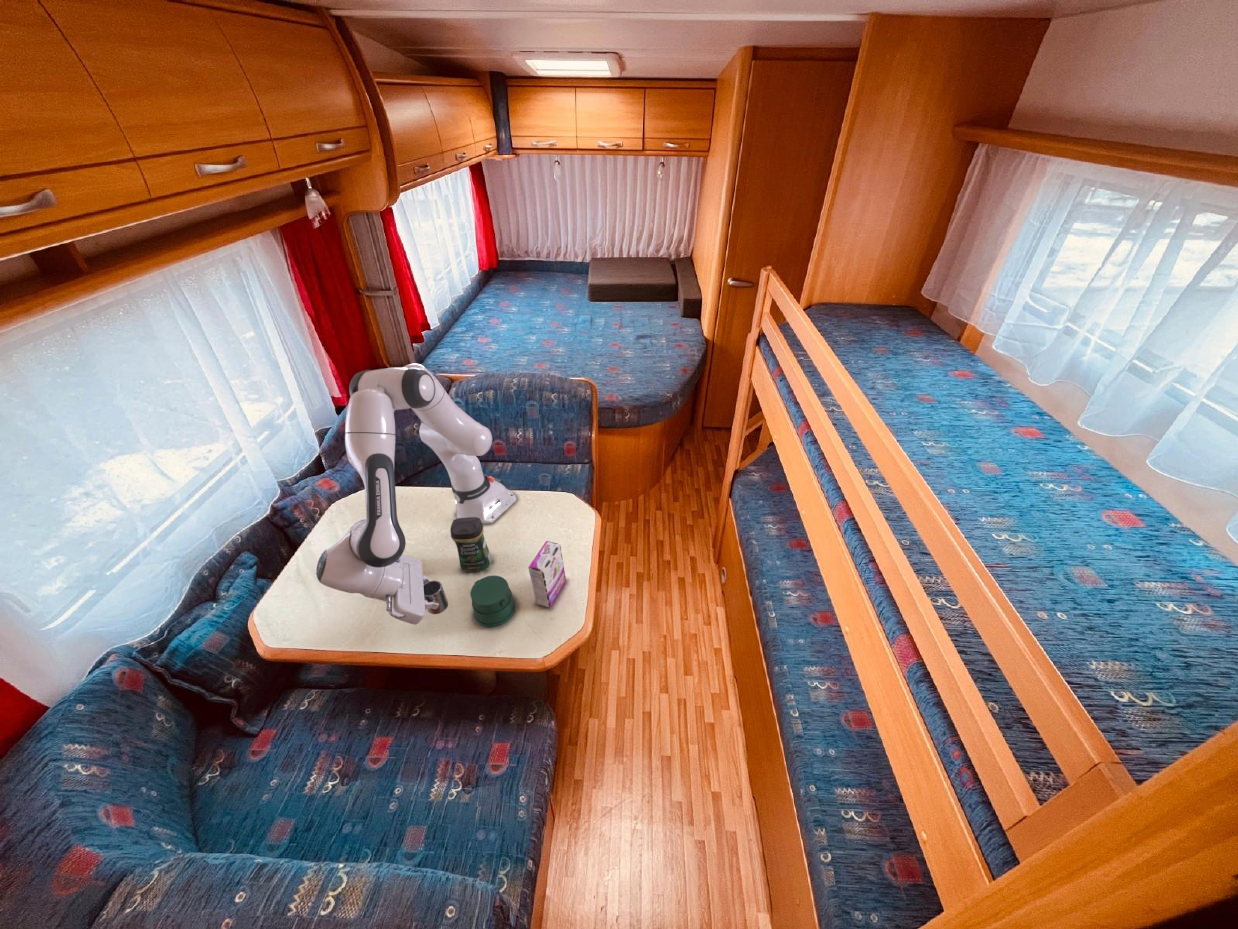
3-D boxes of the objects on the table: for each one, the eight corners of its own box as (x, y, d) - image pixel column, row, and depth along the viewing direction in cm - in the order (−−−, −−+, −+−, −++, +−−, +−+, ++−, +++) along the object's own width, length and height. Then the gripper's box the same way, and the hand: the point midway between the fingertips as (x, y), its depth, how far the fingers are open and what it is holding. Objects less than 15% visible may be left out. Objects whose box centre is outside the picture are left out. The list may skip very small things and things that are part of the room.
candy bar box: (552, 576, 148) (546, 539, 138) (566, 581, 147) (561, 543, 137) (535, 604, 140) (527, 566, 130) (550, 609, 138) (543, 571, 128)
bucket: (497, 587, 145) (492, 567, 140) (524, 606, 139) (519, 586, 134) (465, 613, 138) (458, 593, 133) (492, 635, 132) (486, 615, 126)
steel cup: (440, 595, 132) (434, 577, 128) (452, 604, 130) (445, 586, 125) (423, 607, 129) (416, 589, 125) (435, 617, 126) (427, 599, 122)
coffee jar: (459, 574, 150) (445, 532, 139) (464, 556, 156) (451, 514, 145) (490, 572, 150) (478, 530, 139) (493, 554, 157) (482, 512, 146)
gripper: (393, 605, 110) (446, 618, 119) (393, 547, 126) (440, 562, 134) (379, 623, 111) (432, 634, 120) (380, 563, 127) (428, 577, 135)
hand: (436, 595), depth 127 cm, fingers closed on steel cup, 5 cm apart
